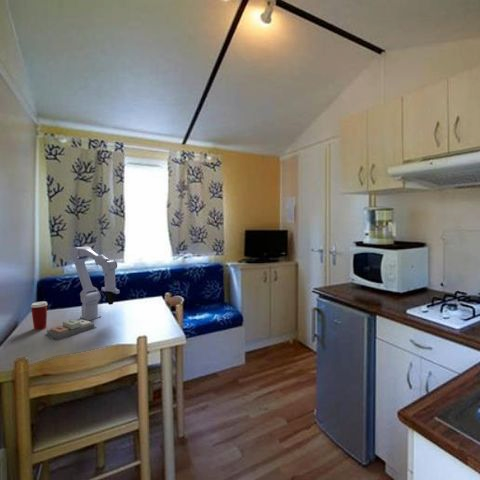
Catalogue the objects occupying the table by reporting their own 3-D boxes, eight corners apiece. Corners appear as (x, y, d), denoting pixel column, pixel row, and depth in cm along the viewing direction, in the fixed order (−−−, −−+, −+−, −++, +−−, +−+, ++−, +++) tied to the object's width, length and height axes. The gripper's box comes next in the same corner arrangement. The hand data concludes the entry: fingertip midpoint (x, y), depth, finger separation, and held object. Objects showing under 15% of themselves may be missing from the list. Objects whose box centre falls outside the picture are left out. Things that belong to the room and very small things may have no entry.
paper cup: (51, 326, 160) (50, 301, 159) (38, 331, 153) (37, 305, 152) (41, 325, 163) (40, 300, 162) (28, 329, 156) (26, 304, 155)
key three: (50, 332, 149) (50, 327, 149) (59, 330, 153) (59, 325, 153) (59, 336, 144) (59, 331, 144) (68, 333, 148) (68, 328, 148)
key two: (62, 326, 154) (62, 321, 154) (71, 323, 158) (71, 318, 158) (71, 329, 149) (71, 324, 149) (80, 326, 153) (80, 321, 153)
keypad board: (45, 334, 149) (44, 330, 149) (83, 323, 166) (83, 319, 166) (57, 340, 142) (57, 335, 142) (96, 327, 159) (96, 323, 159)
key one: (74, 325, 159) (74, 321, 159) (82, 323, 163) (82, 318, 163) (83, 329, 154) (82, 324, 154) (91, 326, 158) (91, 321, 158)
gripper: (96, 281, 167) (97, 304, 168) (111, 283, 159) (112, 307, 160) (107, 279, 173) (108, 301, 174) (122, 281, 165) (123, 304, 166)
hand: (110, 304), depth 167 cm, fingers closed
